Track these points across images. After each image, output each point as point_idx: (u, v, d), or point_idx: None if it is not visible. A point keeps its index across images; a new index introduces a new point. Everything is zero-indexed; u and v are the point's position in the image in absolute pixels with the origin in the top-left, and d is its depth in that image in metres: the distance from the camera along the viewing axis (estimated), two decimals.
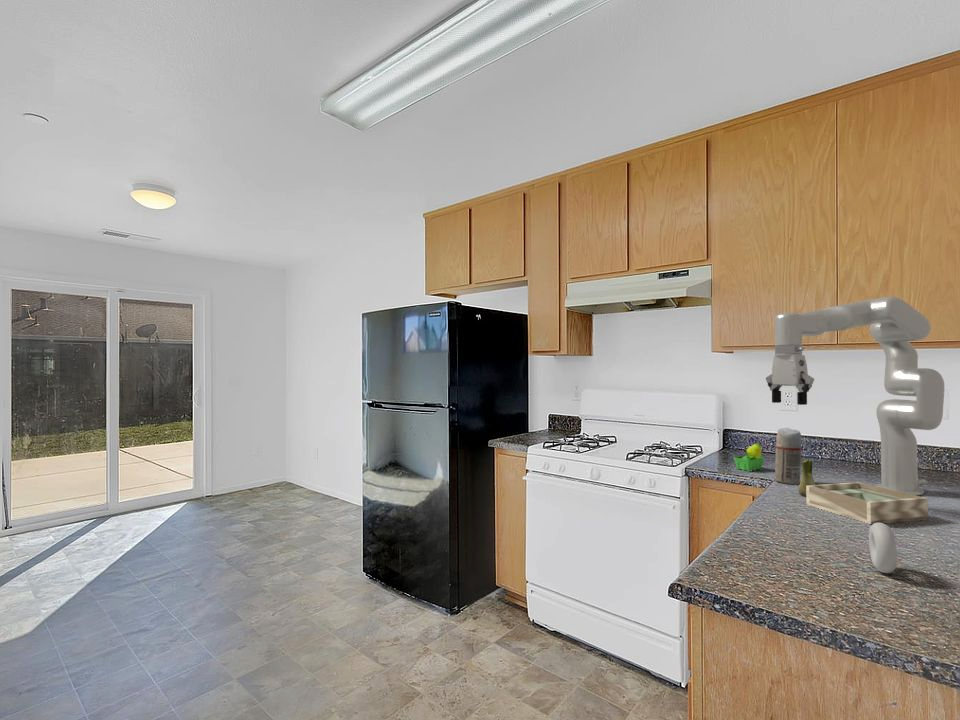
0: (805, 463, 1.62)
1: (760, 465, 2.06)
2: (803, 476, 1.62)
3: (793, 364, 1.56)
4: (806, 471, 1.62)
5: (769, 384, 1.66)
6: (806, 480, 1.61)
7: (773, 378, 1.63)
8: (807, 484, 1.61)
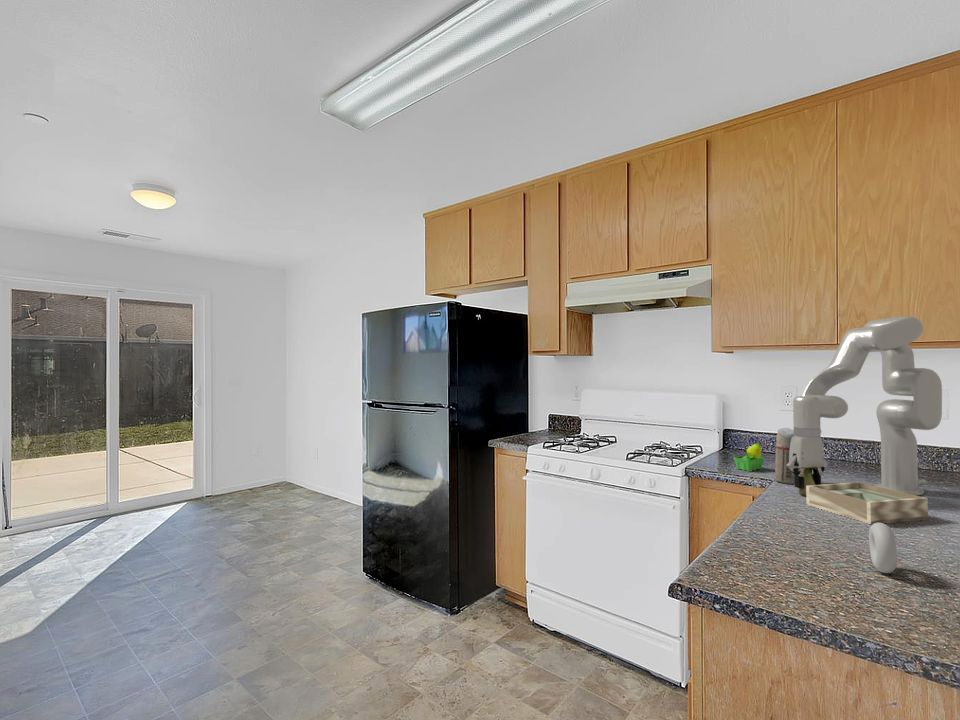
0: None
1: (760, 465, 2.06)
2: (803, 476, 1.62)
3: (822, 446, 1.62)
4: (806, 471, 1.62)
5: (796, 470, 1.61)
6: (806, 480, 1.61)
7: (803, 461, 1.60)
8: (807, 484, 1.61)
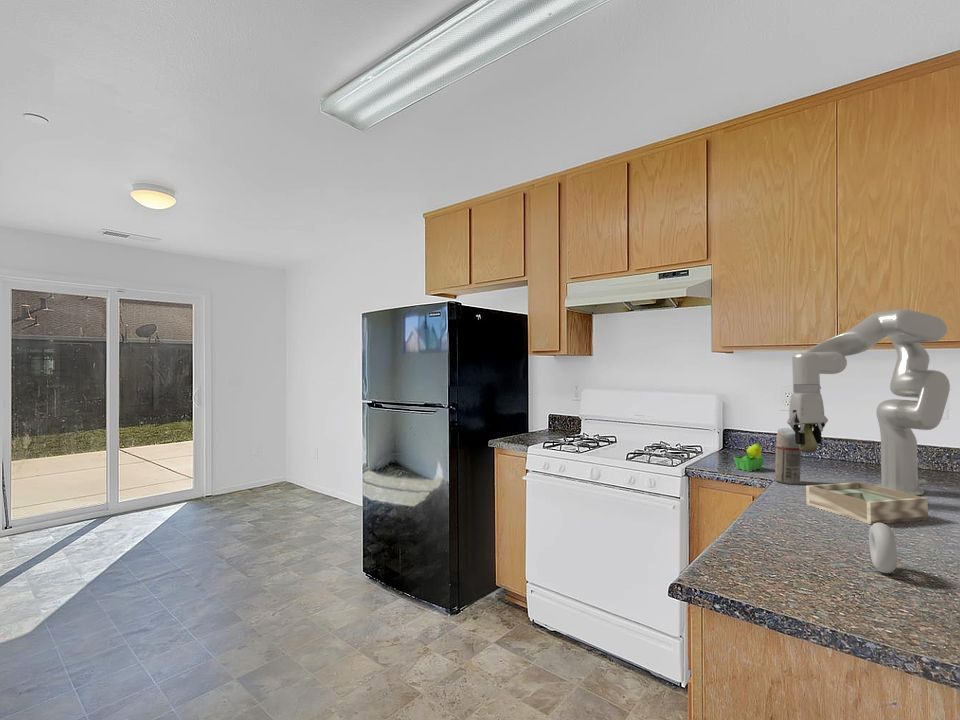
0: None
1: (760, 465, 2.06)
2: (803, 432, 1.62)
3: (822, 402, 1.62)
4: (806, 427, 1.62)
5: (796, 426, 1.61)
6: (806, 436, 1.62)
7: (803, 417, 1.61)
8: (808, 440, 1.61)
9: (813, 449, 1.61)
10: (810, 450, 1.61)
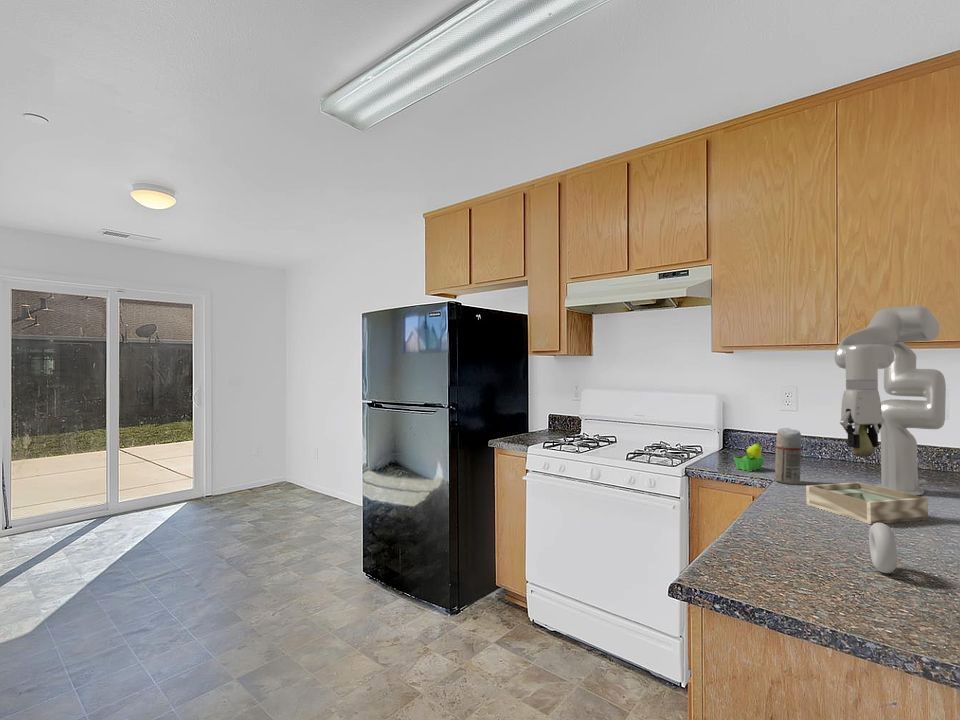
0: None
1: (760, 465, 2.06)
2: None
3: (879, 401, 1.44)
4: (861, 428, 1.43)
5: (850, 427, 1.43)
6: (862, 438, 1.43)
7: (858, 417, 1.42)
8: (863, 443, 1.43)
9: (869, 453, 1.42)
10: (865, 454, 1.43)
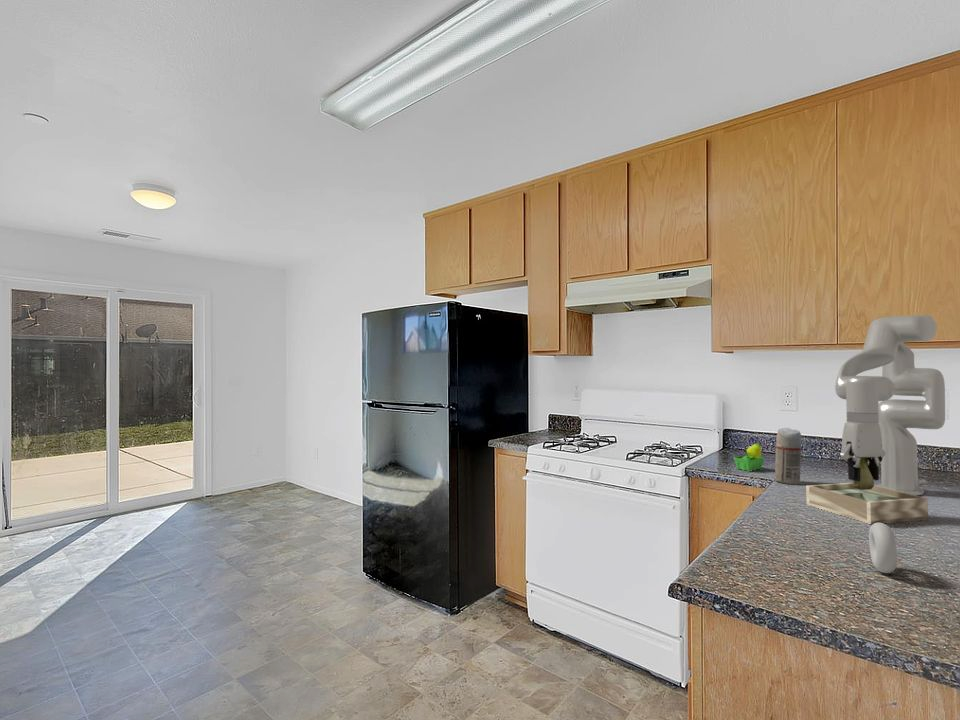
0: None
1: (760, 465, 2.06)
2: (859, 467, 1.43)
3: (880, 433, 1.44)
4: (862, 461, 1.43)
5: (851, 460, 1.43)
6: (862, 471, 1.43)
7: (859, 450, 1.42)
8: (863, 476, 1.43)
9: (869, 486, 1.42)
10: (866, 487, 1.42)
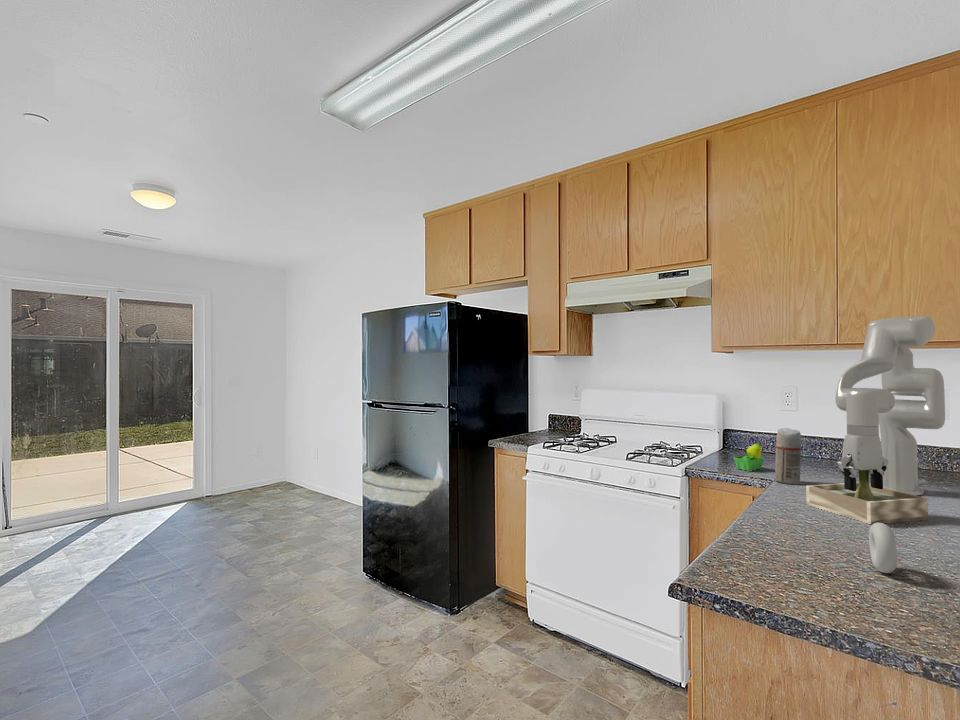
0: (863, 472, 1.43)
1: (760, 465, 2.06)
2: (860, 486, 1.43)
3: (880, 446, 1.44)
4: (864, 481, 1.43)
5: (847, 470, 1.42)
6: (864, 491, 1.43)
7: (859, 463, 1.42)
8: (865, 495, 1.43)
9: None
10: None
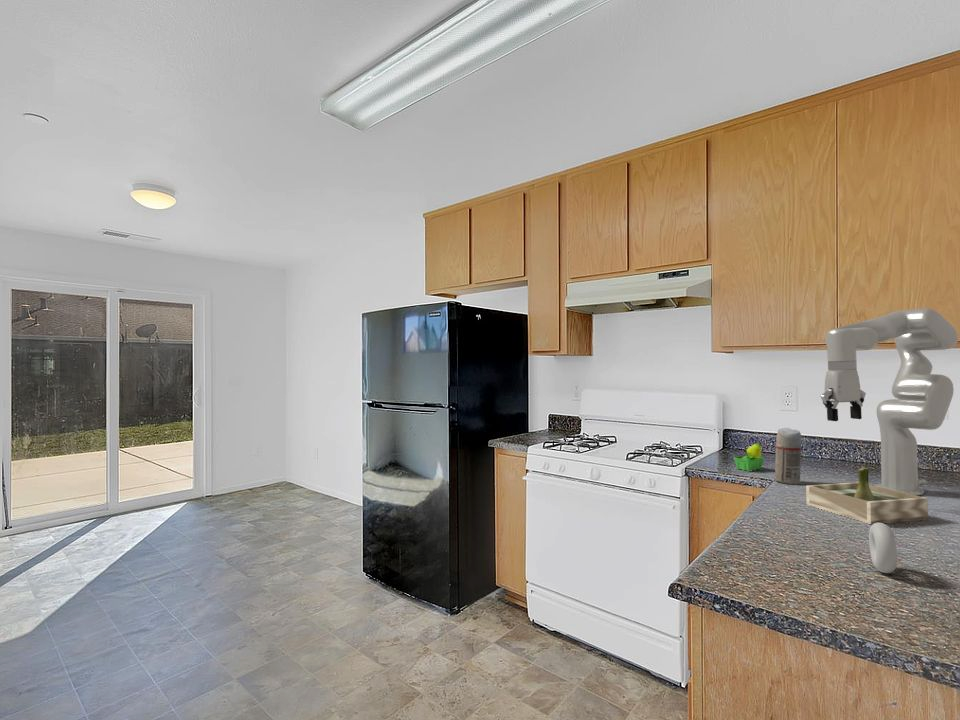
0: (862, 472, 1.43)
1: (760, 465, 2.06)
2: (860, 486, 1.43)
3: (858, 379, 1.57)
4: (863, 481, 1.43)
5: (829, 402, 1.55)
6: (864, 491, 1.43)
7: (840, 395, 1.55)
8: (865, 495, 1.43)
9: None
10: None
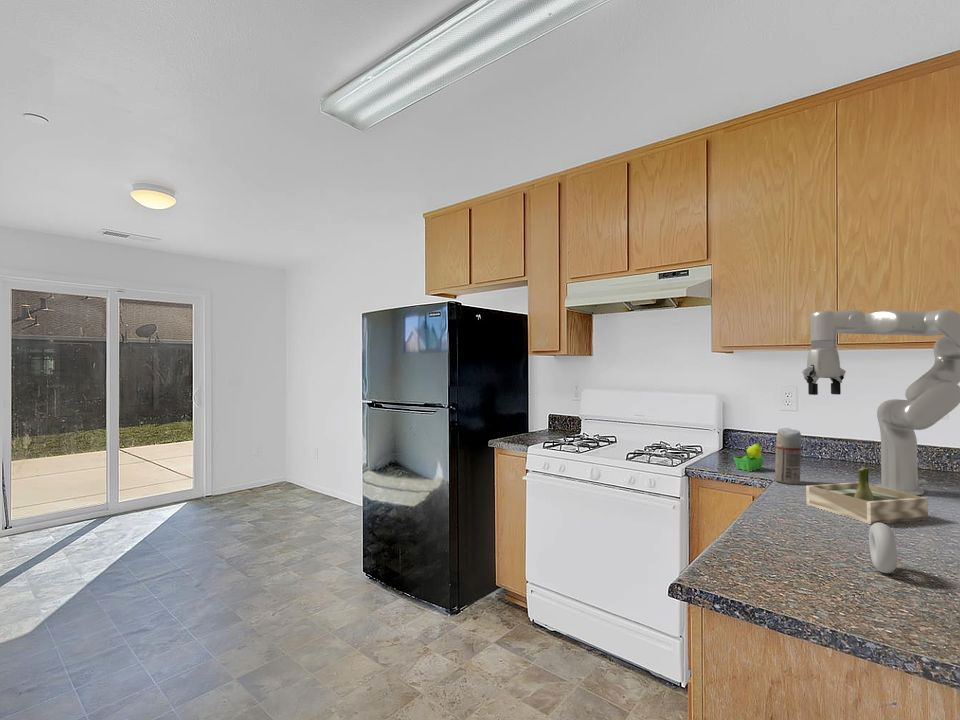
0: (862, 472, 1.43)
1: (760, 465, 2.06)
2: (860, 486, 1.43)
3: (838, 358, 1.71)
4: (863, 481, 1.43)
5: (810, 377, 1.70)
6: (864, 491, 1.43)
7: (820, 371, 1.70)
8: (865, 495, 1.43)
9: None
10: None
